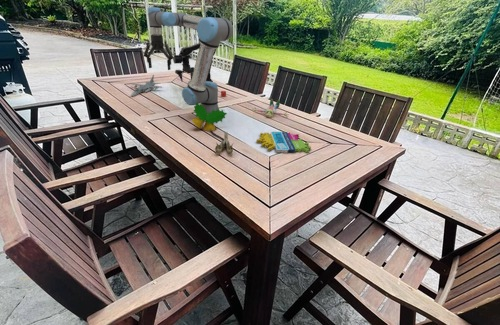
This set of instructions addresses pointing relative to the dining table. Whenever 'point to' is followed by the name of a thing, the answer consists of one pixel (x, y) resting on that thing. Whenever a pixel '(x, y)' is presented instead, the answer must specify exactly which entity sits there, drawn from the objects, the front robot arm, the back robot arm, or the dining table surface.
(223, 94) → the canister
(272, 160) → the dining table surface
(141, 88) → the airplane
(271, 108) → the toy
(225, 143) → the jawbone
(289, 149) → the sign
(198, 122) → the ornament
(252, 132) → the dining table surface
